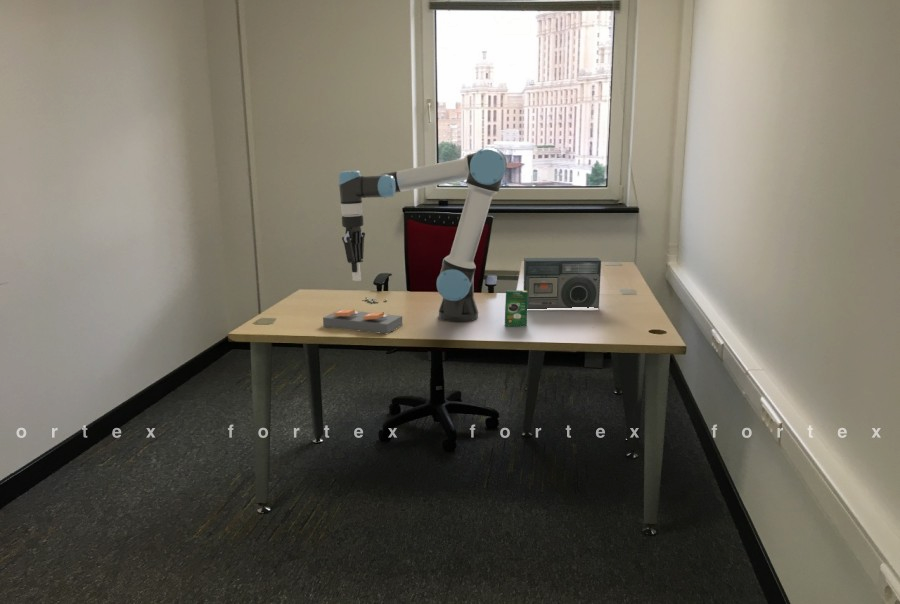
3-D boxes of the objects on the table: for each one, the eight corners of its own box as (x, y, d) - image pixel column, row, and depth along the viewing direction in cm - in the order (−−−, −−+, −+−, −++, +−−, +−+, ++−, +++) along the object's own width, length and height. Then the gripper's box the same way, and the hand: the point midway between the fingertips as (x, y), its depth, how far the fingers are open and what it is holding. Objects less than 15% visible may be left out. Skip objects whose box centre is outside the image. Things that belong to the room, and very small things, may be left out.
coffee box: (526, 324, 245) (527, 289, 242) (527, 326, 242) (528, 291, 239) (504, 324, 245) (505, 289, 242) (505, 326, 242) (505, 291, 239)
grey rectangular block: (402, 325, 245) (402, 315, 244) (387, 334, 234) (387, 323, 233) (340, 318, 254) (340, 308, 253) (323, 326, 243) (322, 316, 243)
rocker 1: (355, 312, 244) (354, 309, 244) (348, 315, 240) (348, 312, 240) (340, 313, 246) (340, 309, 246) (334, 316, 242) (334, 312, 242)
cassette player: (524, 311, 264) (525, 261, 260) (523, 306, 271) (524, 257, 266) (598, 310, 264) (601, 260, 259) (595, 306, 271) (597, 257, 266)
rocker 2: (384, 315, 239) (383, 311, 239) (378, 318, 235) (378, 314, 235) (369, 316, 242) (369, 313, 242) (364, 319, 238) (363, 316, 238)
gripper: (351, 213, 244) (356, 276, 250) (333, 217, 233) (338, 283, 238) (370, 213, 242) (374, 277, 247) (352, 217, 230) (357, 284, 235)
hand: (357, 280), depth 243 cm, fingers closed
